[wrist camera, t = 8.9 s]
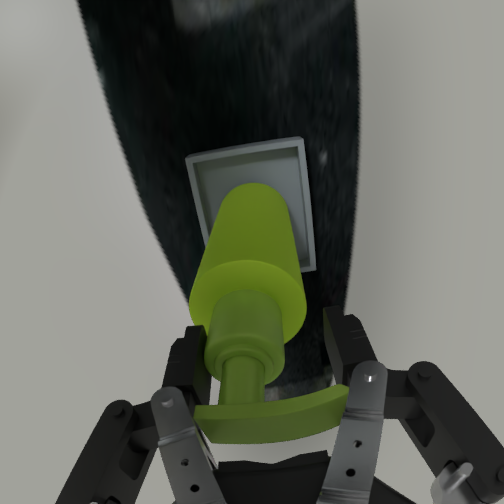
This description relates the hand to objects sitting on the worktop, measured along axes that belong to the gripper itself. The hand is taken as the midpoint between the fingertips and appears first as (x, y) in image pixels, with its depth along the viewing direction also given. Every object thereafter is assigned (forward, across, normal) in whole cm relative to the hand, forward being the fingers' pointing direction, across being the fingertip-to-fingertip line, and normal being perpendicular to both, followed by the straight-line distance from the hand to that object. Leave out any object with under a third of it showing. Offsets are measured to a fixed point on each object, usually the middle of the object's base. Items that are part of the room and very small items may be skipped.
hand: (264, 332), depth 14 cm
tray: (+16, 0, 0) cm, 16 cm away
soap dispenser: (+15, 0, 0) cm, 15 cm away
